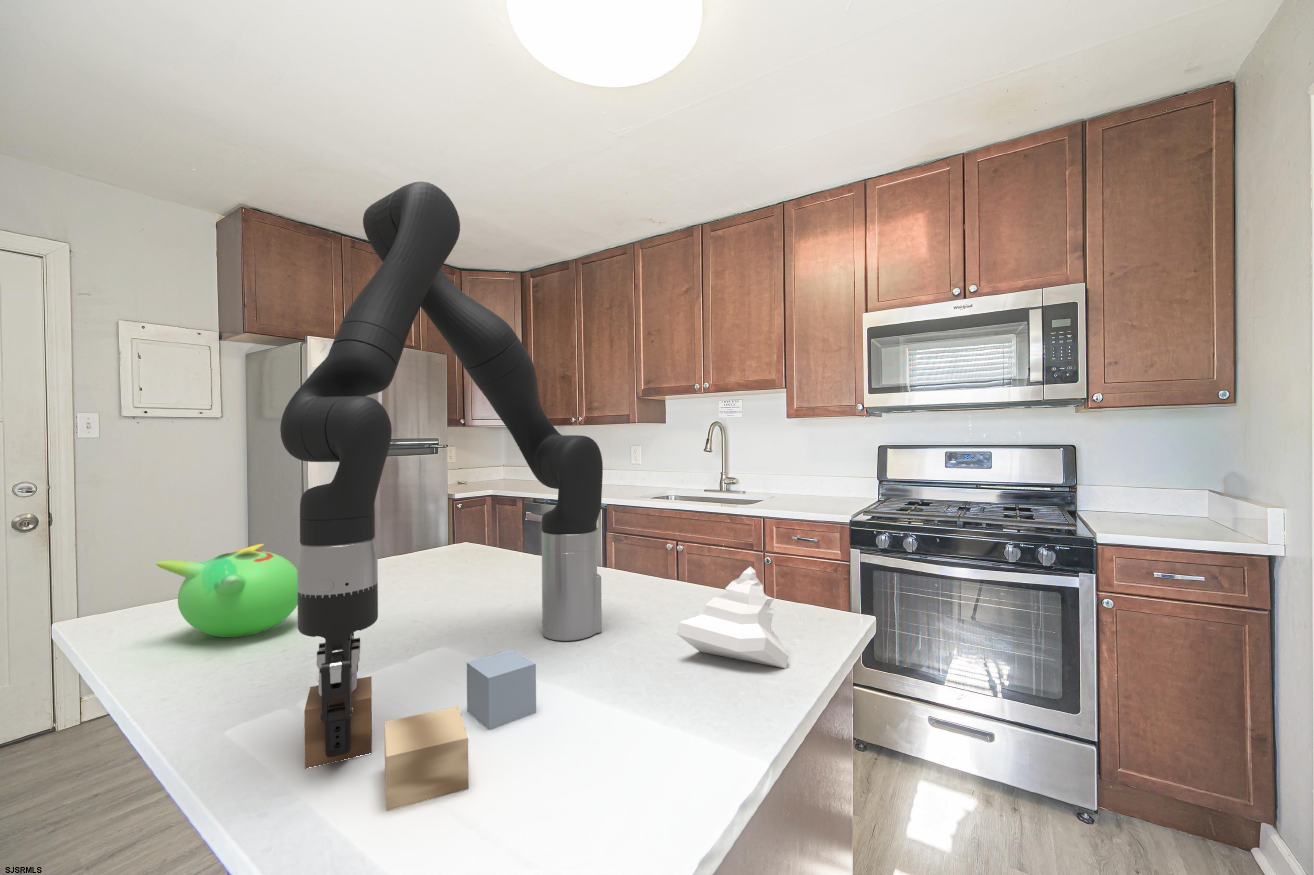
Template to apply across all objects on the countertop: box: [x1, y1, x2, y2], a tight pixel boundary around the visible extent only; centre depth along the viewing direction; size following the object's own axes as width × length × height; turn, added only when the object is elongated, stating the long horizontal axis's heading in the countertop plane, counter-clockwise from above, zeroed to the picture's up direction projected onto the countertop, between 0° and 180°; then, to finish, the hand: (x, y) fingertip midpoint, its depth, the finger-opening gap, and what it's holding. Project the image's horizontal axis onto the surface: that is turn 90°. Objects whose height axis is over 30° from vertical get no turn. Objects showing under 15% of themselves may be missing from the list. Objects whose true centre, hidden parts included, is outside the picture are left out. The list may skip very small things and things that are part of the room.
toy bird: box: [155, 543, 298, 638], centre depth 97 cm, size 18×17×15 cm
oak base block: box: [384, 706, 469, 812], centre depth 56 cm, size 7×7×5 cm
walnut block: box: [303, 675, 373, 770], centre depth 61 cm, size 6×6×6 cm
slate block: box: [466, 649, 537, 731], centre depth 69 cm, size 6×6×6 cm
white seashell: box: [676, 565, 789, 669], centre depth 86 cm, size 12×15×14 cm
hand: (340, 737), depth 61 cm, fingers open, 6 cm apart
